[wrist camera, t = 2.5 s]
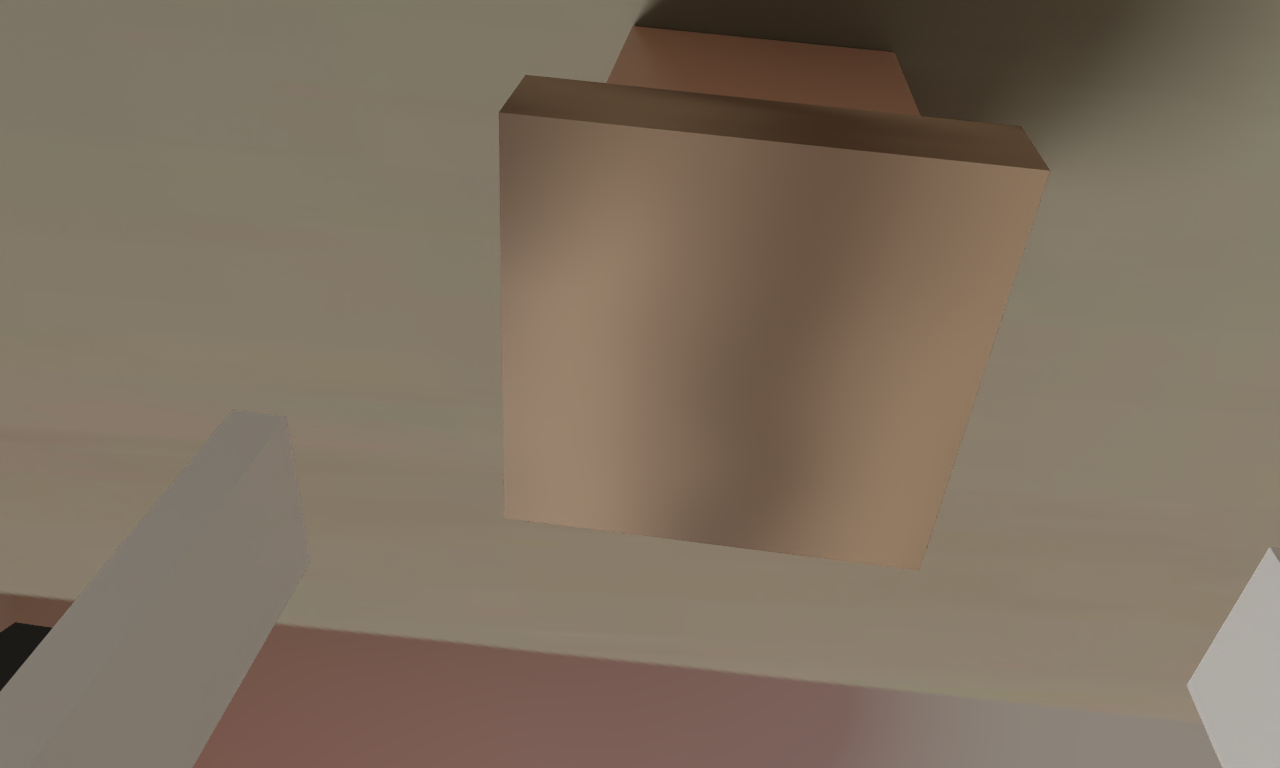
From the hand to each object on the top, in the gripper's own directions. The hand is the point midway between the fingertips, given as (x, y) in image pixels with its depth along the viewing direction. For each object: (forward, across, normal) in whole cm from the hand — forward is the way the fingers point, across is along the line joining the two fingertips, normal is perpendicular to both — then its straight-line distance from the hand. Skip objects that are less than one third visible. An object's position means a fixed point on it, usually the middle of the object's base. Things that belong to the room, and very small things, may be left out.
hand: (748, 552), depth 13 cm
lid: (+6, 0, 0) cm, 6 cm away
